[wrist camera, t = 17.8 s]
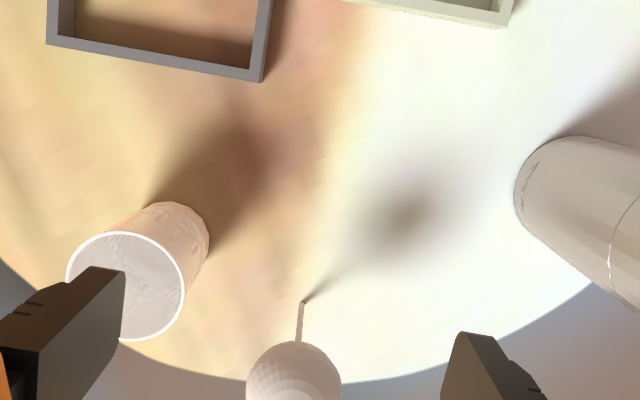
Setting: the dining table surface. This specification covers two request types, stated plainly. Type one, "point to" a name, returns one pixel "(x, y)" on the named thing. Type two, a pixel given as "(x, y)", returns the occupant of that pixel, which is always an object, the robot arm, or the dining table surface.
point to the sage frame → (450, 11)
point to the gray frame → (62, 35)
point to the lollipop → (294, 372)
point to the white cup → (149, 264)
